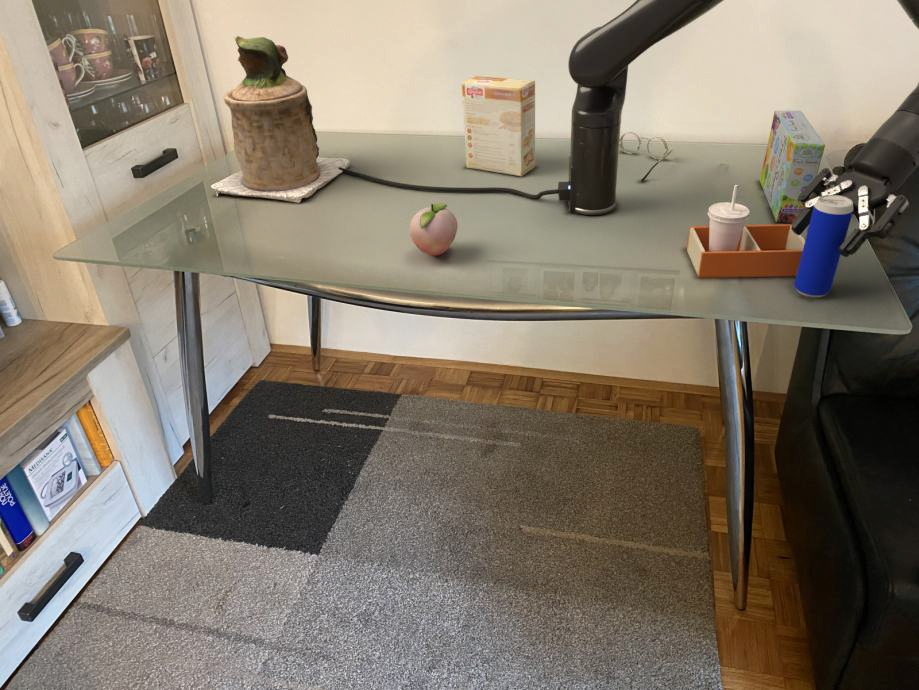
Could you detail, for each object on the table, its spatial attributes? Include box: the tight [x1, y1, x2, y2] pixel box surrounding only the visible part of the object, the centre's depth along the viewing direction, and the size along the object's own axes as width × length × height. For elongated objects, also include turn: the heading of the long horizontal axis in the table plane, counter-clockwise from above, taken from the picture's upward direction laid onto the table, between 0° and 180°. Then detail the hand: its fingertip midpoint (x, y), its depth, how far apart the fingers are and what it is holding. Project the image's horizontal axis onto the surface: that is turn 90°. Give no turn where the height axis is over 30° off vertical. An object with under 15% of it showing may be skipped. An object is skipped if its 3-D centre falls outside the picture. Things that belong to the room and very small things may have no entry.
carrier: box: [685, 223, 806, 279], centre depth 115 cm, size 17×10×4 cm, turn 86°
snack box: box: [759, 110, 826, 224], centre depth 132 cm, size 21×6×15 cm, turn 168°
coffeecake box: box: [461, 75, 536, 177], centre depth 155 cm, size 15×7×20 cm, turn 58°
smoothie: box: [707, 184, 751, 252], centre depth 113 cm, size 6×6×14 cm
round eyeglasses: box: [619, 131, 673, 182], centre depth 156 cm, size 17×15×5 cm
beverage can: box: [793, 195, 853, 299], centre depth 104 cm, size 5×5×15 cm
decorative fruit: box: [409, 202, 459, 256], centre depth 123 cm, size 9×8×10 cm
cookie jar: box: [210, 35, 351, 204], centre depth 153 cm, size 25×25×32 cm
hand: (817, 242), depth 102 cm, fingers open, 8 cm apart
